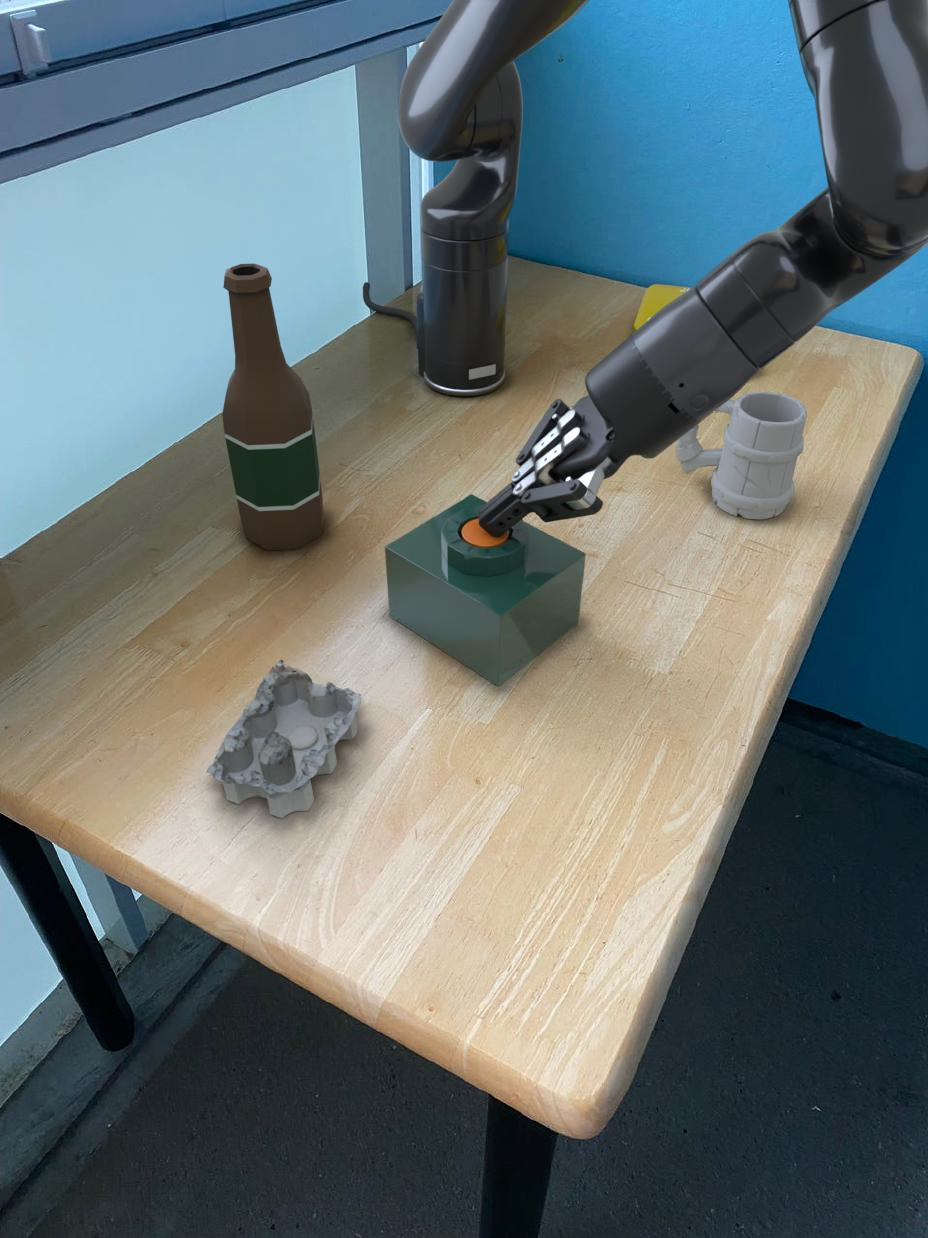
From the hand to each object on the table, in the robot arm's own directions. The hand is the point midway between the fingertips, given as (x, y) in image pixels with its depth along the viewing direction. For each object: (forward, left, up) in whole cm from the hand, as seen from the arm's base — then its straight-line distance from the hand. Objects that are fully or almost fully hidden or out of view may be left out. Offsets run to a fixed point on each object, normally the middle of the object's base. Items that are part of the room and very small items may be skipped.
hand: (486, 525), depth 70 cm
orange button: (0, 0, -2) cm, 2 cm away
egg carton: (0, -20, -10) cm, 22 cm away
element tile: (-15, +56, -10) cm, 59 cm away
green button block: (0, 0, -9) cm, 9 cm away
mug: (+5, +30, -10) cm, 32 cm away
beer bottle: (-22, -3, -10) cm, 24 cm away
